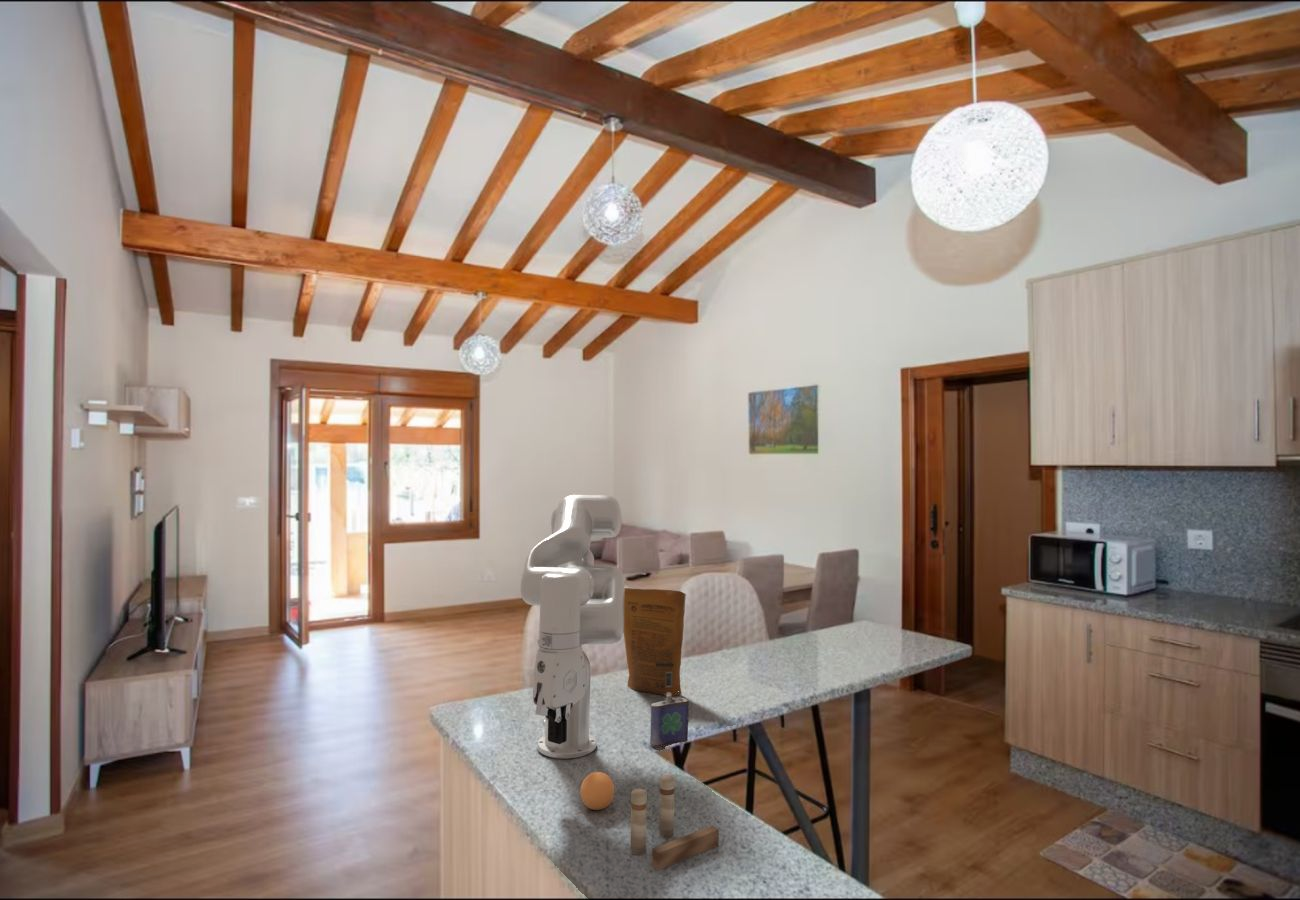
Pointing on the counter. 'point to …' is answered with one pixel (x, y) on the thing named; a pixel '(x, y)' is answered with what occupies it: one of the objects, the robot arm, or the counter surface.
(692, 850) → the back rail
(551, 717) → the robot arm
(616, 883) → the counter surface
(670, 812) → the pin
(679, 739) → the flask
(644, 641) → the pancake mix bag
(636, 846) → the pin side
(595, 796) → the ball
